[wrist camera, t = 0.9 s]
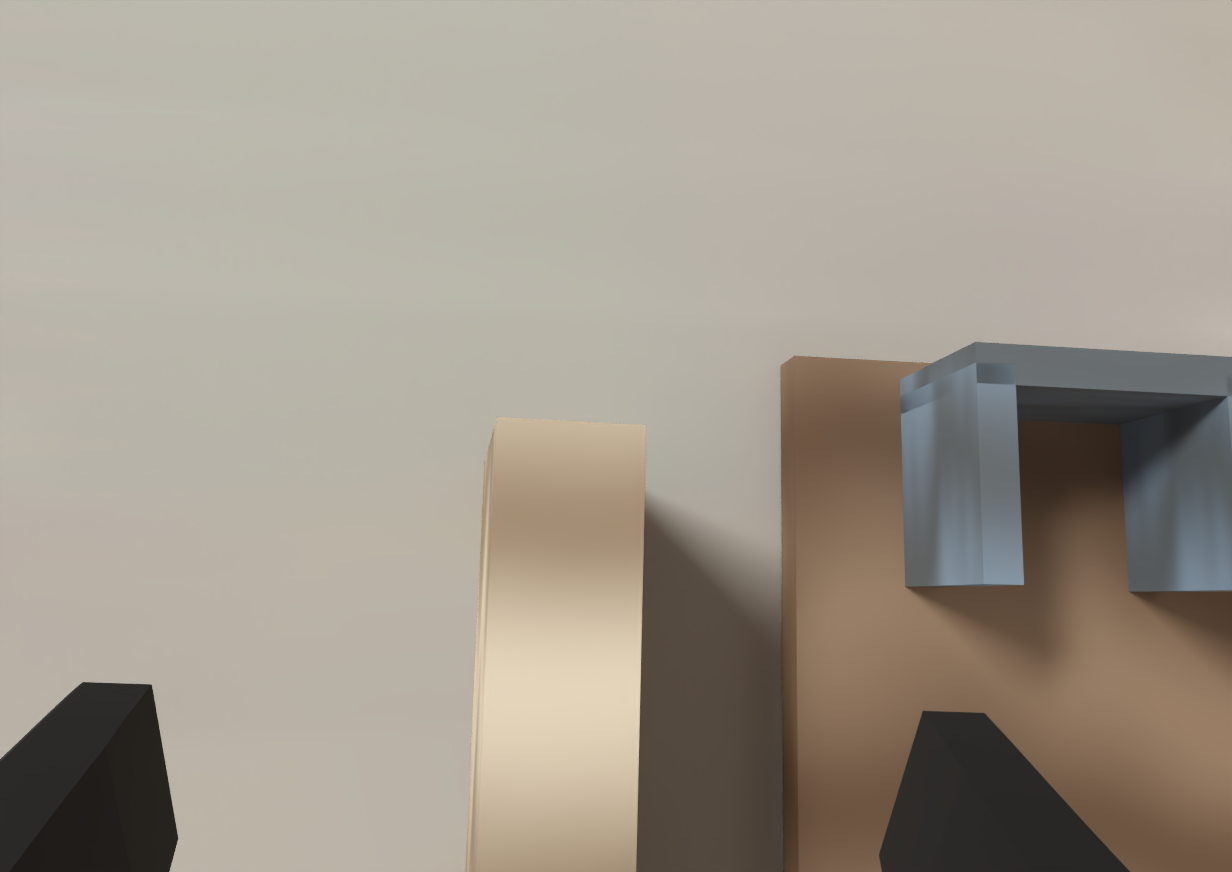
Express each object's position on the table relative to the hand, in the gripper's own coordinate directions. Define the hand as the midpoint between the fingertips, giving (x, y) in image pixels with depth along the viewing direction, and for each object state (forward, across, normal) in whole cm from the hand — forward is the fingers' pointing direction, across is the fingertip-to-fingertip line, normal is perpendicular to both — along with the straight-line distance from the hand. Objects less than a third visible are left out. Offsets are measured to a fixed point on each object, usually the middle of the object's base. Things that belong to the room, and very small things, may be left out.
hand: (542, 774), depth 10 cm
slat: (+8, 0, +11) cm, 13 cm away
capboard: (+8, -11, +11) cm, 18 cm away
